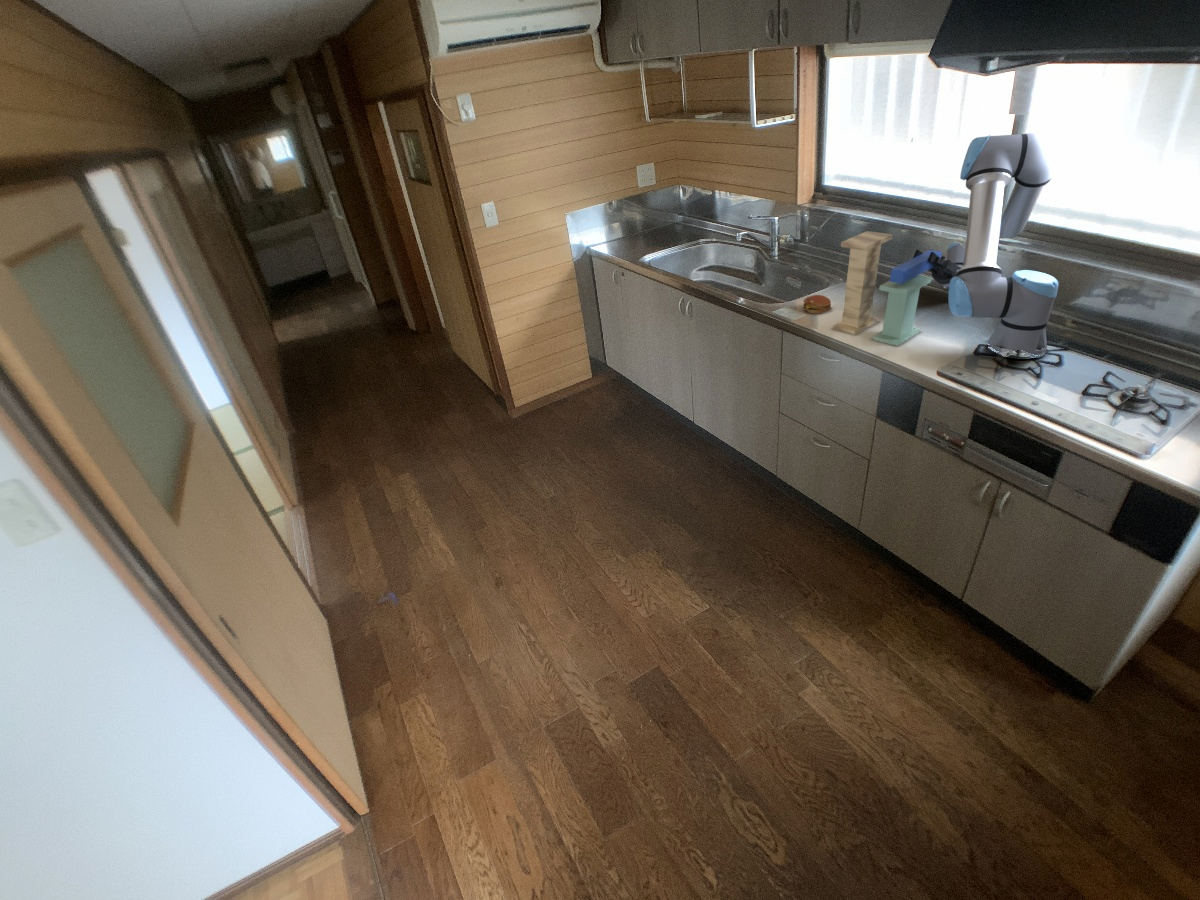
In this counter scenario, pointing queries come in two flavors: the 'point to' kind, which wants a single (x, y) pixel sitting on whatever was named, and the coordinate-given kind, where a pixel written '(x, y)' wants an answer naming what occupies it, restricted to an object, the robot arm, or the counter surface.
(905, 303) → the low pedestal
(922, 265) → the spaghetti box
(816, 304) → the burger
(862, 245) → the tall pedestal
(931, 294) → the counter surface
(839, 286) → the counter surface
